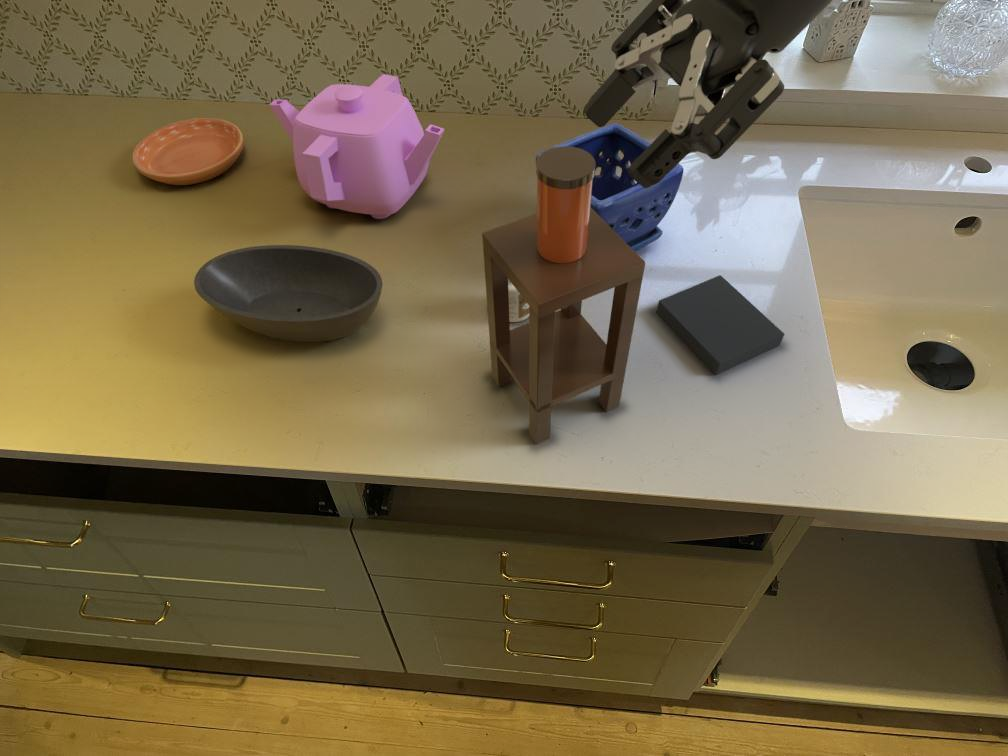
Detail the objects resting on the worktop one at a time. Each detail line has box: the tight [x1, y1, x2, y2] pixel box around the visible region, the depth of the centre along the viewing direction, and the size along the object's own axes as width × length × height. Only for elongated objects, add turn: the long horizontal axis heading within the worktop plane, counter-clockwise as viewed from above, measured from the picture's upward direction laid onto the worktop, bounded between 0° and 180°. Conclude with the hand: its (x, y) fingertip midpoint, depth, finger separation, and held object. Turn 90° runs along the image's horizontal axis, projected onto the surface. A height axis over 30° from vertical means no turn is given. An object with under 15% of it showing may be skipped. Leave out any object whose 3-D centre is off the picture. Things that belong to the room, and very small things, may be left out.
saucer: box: [131, 117, 245, 186], centre depth 99 cm, size 16×16×3 cm
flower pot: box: [535, 122, 684, 252], centre depth 81 cm, size 13×13×12 cm
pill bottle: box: [508, 279, 529, 323], centre depth 75 cm, size 4×4×8 cm
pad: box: [656, 274, 785, 376], centre depth 74 cm, size 11×9×2 cm
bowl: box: [193, 244, 383, 343], centre depth 75 cm, size 12×22×6 cm, turn 79°
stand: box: [481, 207, 646, 445], centre depth 62 cm, size 10×10×20 cm
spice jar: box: [535, 146, 596, 263], centre depth 51 cm, size 4×4×8 cm
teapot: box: [268, 73, 445, 220], centre depth 88 cm, size 19×18×15 cm
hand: (612, 148), depth 48 cm, fingers open, 8 cm apart
